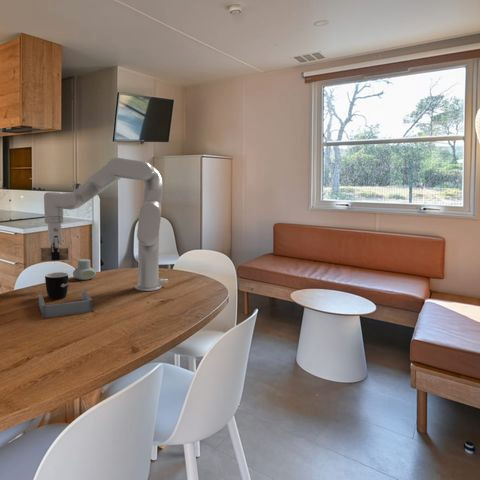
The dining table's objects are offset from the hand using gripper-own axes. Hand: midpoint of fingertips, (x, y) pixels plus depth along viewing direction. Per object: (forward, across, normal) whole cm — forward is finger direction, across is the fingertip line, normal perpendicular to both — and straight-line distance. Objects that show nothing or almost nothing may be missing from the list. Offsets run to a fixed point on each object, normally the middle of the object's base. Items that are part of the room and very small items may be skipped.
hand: (55, 259), depth 173 cm
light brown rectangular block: (0, 0, 0) cm, 0 cm away
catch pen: (+14, -29, 0) cm, 32 cm away
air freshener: (+15, +15, -15) cm, 26 cm away
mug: (+15, -12, 0) cm, 19 cm away
